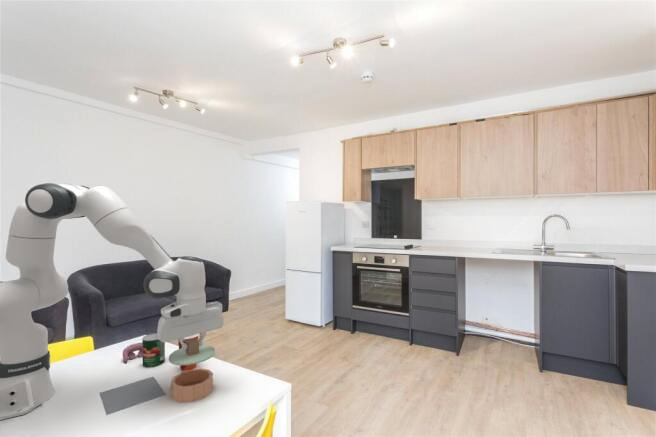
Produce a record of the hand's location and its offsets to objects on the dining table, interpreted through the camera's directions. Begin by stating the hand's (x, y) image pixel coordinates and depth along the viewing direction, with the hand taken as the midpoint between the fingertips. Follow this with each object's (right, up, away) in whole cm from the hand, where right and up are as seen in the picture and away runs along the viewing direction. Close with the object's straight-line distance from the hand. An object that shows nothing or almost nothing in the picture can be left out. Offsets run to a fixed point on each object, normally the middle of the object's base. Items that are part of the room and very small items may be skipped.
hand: (192, 347), depth 106 cm
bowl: (0, -15, 0) cm, 15 cm away
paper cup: (-9, -15, +18) cm, 25 cm away
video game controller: (-34, -16, +27) cm, 46 cm away
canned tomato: (-24, -15, +21) cm, 36 cm away
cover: (0, -3, 0) cm, 2 cm away
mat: (-19, -15, -1) cm, 24 cm away
